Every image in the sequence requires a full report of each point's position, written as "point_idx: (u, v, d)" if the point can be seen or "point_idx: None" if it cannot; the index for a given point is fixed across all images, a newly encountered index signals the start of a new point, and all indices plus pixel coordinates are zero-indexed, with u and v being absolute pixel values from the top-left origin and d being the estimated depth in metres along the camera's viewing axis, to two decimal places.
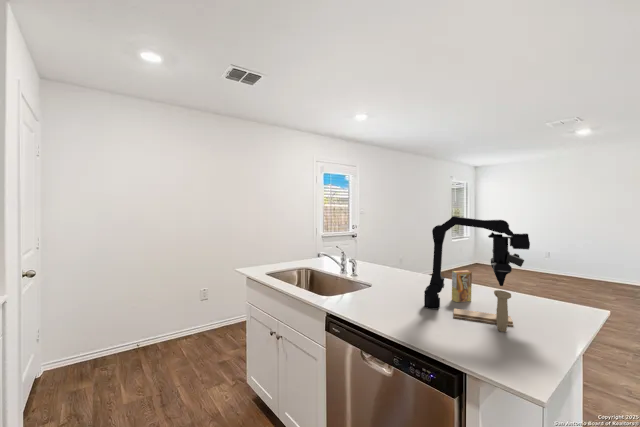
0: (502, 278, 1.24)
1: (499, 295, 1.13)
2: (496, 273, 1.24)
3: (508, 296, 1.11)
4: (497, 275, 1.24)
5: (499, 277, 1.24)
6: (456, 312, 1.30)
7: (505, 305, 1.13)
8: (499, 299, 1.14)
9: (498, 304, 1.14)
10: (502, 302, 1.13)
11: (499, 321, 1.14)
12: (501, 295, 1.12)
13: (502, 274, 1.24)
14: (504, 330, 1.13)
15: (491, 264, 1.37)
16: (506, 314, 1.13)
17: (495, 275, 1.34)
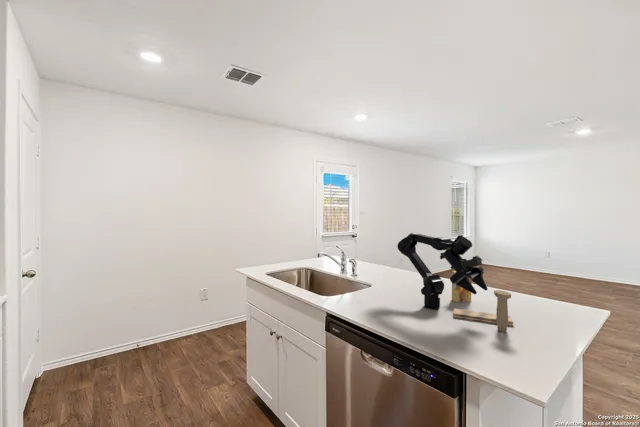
0: (469, 286, 1.19)
1: (499, 295, 1.13)
2: (460, 285, 1.22)
3: (508, 296, 1.11)
4: (463, 286, 1.21)
5: (466, 287, 1.20)
6: (456, 312, 1.30)
7: (505, 305, 1.13)
8: (499, 299, 1.14)
9: (498, 304, 1.14)
10: (502, 302, 1.13)
11: (499, 321, 1.14)
12: (501, 295, 1.12)
13: (465, 282, 1.20)
14: (504, 330, 1.13)
15: None
16: (506, 314, 1.13)
17: (480, 286, 1.26)
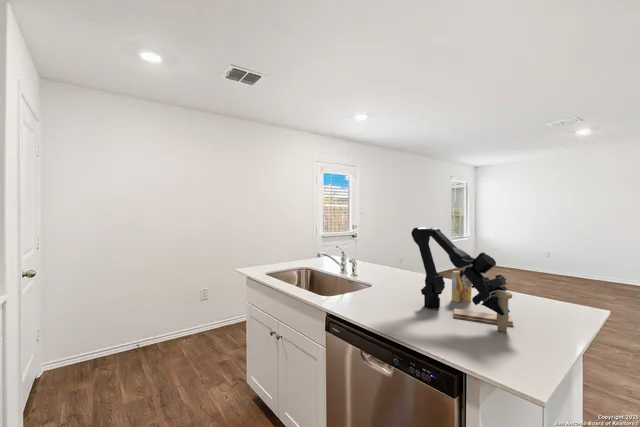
0: (496, 307, 1.13)
1: (500, 295, 1.13)
2: (486, 305, 1.15)
3: (509, 296, 1.11)
4: (489, 307, 1.15)
5: (492, 307, 1.14)
6: (456, 312, 1.30)
7: (506, 305, 1.13)
8: (500, 299, 1.14)
9: (499, 304, 1.14)
10: (503, 302, 1.13)
11: (499, 321, 1.14)
12: (502, 295, 1.12)
13: (492, 303, 1.14)
14: (504, 330, 1.13)
15: None
16: (506, 314, 1.13)
17: None
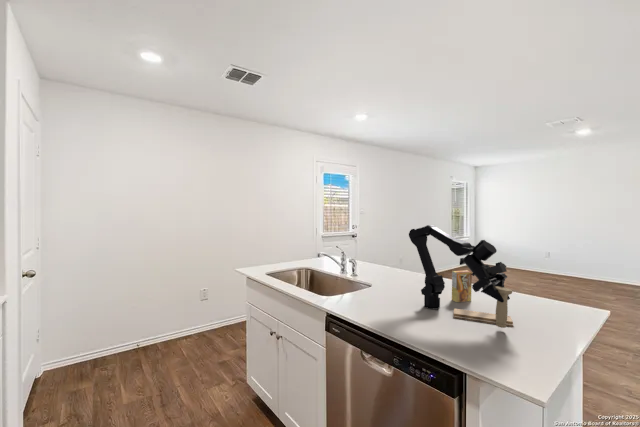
0: (495, 294, 1.13)
1: (501, 291, 1.13)
2: (486, 292, 1.15)
3: (509, 292, 1.11)
4: (489, 294, 1.15)
5: (492, 294, 1.14)
6: (456, 312, 1.30)
7: (506, 301, 1.13)
8: None
9: None
10: (503, 298, 1.13)
11: (499, 317, 1.14)
12: (503, 291, 1.12)
13: (492, 290, 1.14)
14: (503, 326, 1.13)
15: None
16: (506, 310, 1.13)
17: None
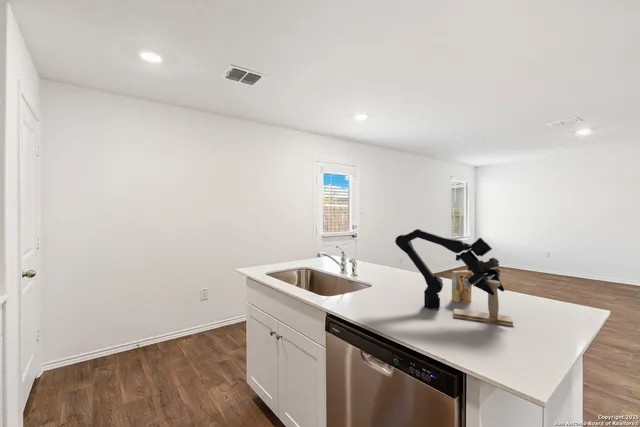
0: (487, 288, 1.22)
1: (490, 284, 1.24)
2: (478, 286, 1.24)
3: (498, 284, 1.22)
4: (480, 287, 1.24)
5: (484, 288, 1.23)
6: (456, 312, 1.30)
7: (496, 292, 1.24)
8: None
9: None
10: (493, 290, 1.24)
11: (491, 308, 1.24)
12: (492, 284, 1.23)
13: (483, 284, 1.23)
14: (496, 315, 1.24)
15: None
16: (497, 301, 1.24)
17: (497, 287, 1.29)
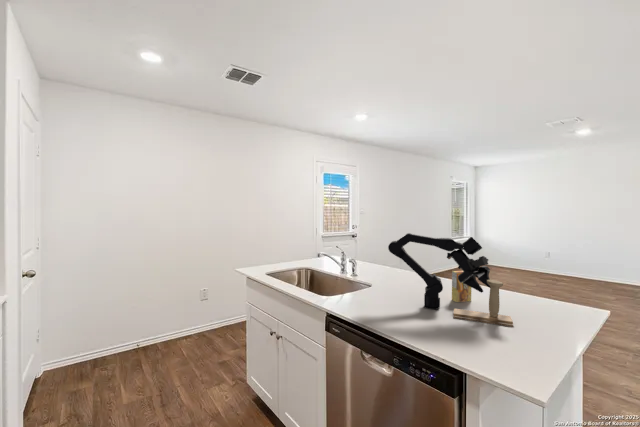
0: (476, 285, 1.26)
1: (493, 284, 1.23)
2: (467, 284, 1.28)
3: (501, 284, 1.22)
4: (470, 285, 1.27)
5: (473, 285, 1.27)
6: (456, 312, 1.30)
7: (497, 293, 1.24)
8: (492, 287, 1.24)
9: (491, 292, 1.25)
10: (495, 290, 1.24)
11: (492, 308, 1.24)
12: (495, 284, 1.23)
13: (472, 281, 1.27)
14: (496, 316, 1.24)
15: None
16: (498, 301, 1.24)
17: (486, 285, 1.32)
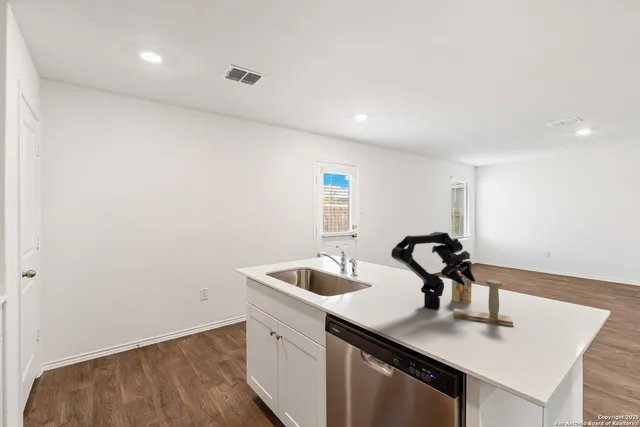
0: (458, 278, 1.33)
1: (492, 284, 1.23)
2: (450, 277, 1.35)
3: (500, 284, 1.22)
4: (452, 278, 1.34)
5: (455, 279, 1.33)
6: (456, 312, 1.30)
7: (497, 293, 1.24)
8: (491, 287, 1.24)
9: (490, 292, 1.25)
10: (494, 290, 1.24)
11: (491, 308, 1.24)
12: (494, 284, 1.23)
13: (455, 275, 1.34)
14: (496, 316, 1.24)
15: None
16: (498, 301, 1.24)
17: None
